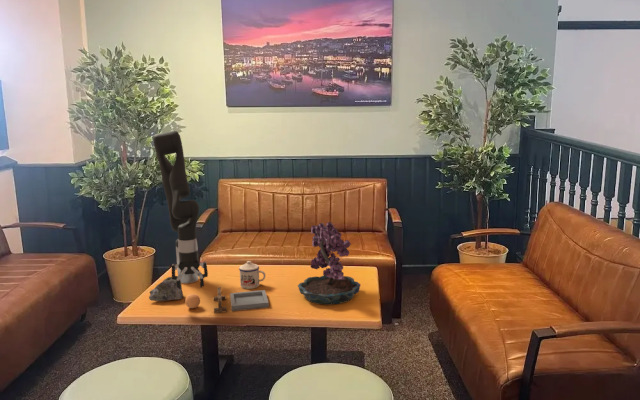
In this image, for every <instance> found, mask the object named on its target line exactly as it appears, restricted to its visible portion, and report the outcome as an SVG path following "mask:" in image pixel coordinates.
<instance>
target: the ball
mask: <svg viewBox="0 0 640 400" xmlns="http://www.w3.org/2000/svg"><path fill="white" fill-rule="evenodd" d="M184 303H185V305H186V306H187V308H189V309H196V308H198V306H199V305H200V303H201V297H200V296H199V295H198V294H196V293H189V294H188V295H187V296H186V297H185V301H184Z"/></svg>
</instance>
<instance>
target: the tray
mask: <svg viewBox="0 0 640 400" xmlns="http://www.w3.org/2000/svg"><path fill="white" fill-rule="evenodd" d="M229 298H230V306H231V312H235V311H244V310H245V311H247V310H256V309H257V310H258V309H265V308H270V305H269V299H268V296H267V293H266V290H265V289H263V290H252V291H249V290H248V291H239V292H230V293H229Z"/></svg>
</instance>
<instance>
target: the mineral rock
mask: <svg viewBox="0 0 640 400" xmlns="http://www.w3.org/2000/svg"><path fill="white" fill-rule="evenodd" d="M183 298H184V293H183V288H182V285H181V289H179V288H177V281H176V280H173V279H172V276H168V277H166V278H165V279H163V280H162V281H161V282H160V283H158V284H157V285H156V286H155V287H154V288H153V289H151V290H150V291H149V297H148V299H149V300H150V301H154V302H164V301H165V302H166V301H170V300H171V301H172V300H173V301H174V300H181V299H183Z"/></svg>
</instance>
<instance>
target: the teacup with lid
mask: <svg viewBox="0 0 640 400" xmlns="http://www.w3.org/2000/svg"><path fill="white" fill-rule="evenodd" d="M238 267H239V268H238V270H239V283H240V288H242V289H243V290H246V289H247V290H251V289H252V290H253V289H256V288H258V287H259V286H260V282H264V280H265V279H266V272H265V271H263V270H259V269H260V266H259V265H258V264H256V263H254V262H252V261H251V260H247V261H246V263H244V264H242V265H240V266H238ZM260 273H261V274H262V275H263V277H262V279H260Z"/></svg>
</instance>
